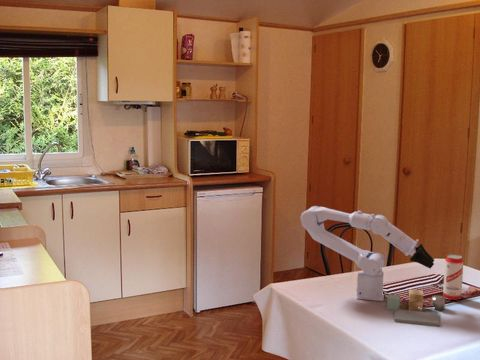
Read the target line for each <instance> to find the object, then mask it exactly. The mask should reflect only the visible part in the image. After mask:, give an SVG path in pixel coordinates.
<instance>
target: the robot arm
mask: <svg viewBox="0 0 480 360" xmlns="http://www.w3.org/2000/svg"><path fill="white" fill-rule="evenodd" d="M375 214H376V213H375ZM375 214H374V213H371V214H369V213H364V212H362V210H357V211H354V212H352V213H348V212H344V211H341V210H336V209H332V208H328V207H326V206H325V207H324V206H318V205H313V206H310V208H308V209H307V210H305V211H302V212H301V215H300V223H301V227H303V228H304V229H305V230H306V231H307V232H308V234H309V235H310V237H311V238H312V240H314V241H316V242H318V243H319V244H322V245H323V246H325V247H326V248H329V249H331V250H332V251H334V252H335V253H338V254H339V255H341V256H344V257H345V258H347V259H349V260H351V261H352V262H355V265H356V266H357V267H358V268H359V269H361V270H362V271H359V272H358V273H357V280H356V282H357V283H356V284H357V285H356V299H357V300H367V301H368V300H369V301H378V302H384V300H385V299H384V298H385V293H384V294H383V292H384V271H383V269H382V268H383V267H384V266H385V263H386V260H385V257H384V256H383V254H381V253H379V252H372V251H370V250H366V249H365V250H364V249H361V248H360V247H358V246H356V245H354V244H352V243H350V242H349V241H347V240H345V239H343V238H341V237H339V236H337V235H336V234H334V233H332V232H330V231H328V230H326V229H325V228H326V227H325V224H324V222H325V221H328V220H329V221H335V222H341V223H342V222H343V223H348V224H349V225H350V226H351V227H352V228H356V229H360V230H361V229H362V230H365V231H371V234H374V235H378V236H379V235H380V236H381V237H382V238H383V239H384V240H386V242H388V243H390V244H392V246H394V247H395V248H397V250H399V251H400V252H401V253H403V254H404V255H405V256H406V257H407V256H411V257H410V258H409V261H410V262H412V263H413V262H414V263H417V264H420V265H422V266H423V267H426V268H428V269H430V270H431V269H432V268H433V266H434V265H435V263H434V262H435V259H434V258H433V256H431V254H429V252H428V251H427V250H426V249H425V247H424V245H423V243H420V244H419V245H418V242H419V241H420V240H419V239H418V238H417V239H416V240H414V239H413V238H411V237H410V236H408V235H407V234H406V233H405V232H403V231H402V230H401V229H399V228H398V227H396V225H393V224H392V223H391V222H389V220H388V218H387V216H385V215H383V214H376V215H375Z"/></svg>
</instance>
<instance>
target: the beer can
mask: <svg viewBox="0 0 480 360" xmlns="http://www.w3.org/2000/svg"><path fill="white" fill-rule="evenodd" d="M443 273H444V274H443V286H442V287H443V291H442V296H443V297H444V298H448V299H454V300H455V299H459V300H461V299H462V289H463V273H464V259H463V256H462V255H459V254H456V253H454V254H453V253H451V254H450V253H448V254H447V255H446V258H445V259H444V272H443Z"/></svg>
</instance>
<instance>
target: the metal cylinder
mask: <svg viewBox="0 0 480 360" xmlns="http://www.w3.org/2000/svg"><path fill="white" fill-rule="evenodd" d="M430 304H431V305H432V306H434V307H435V309H434V310H433V311H436V312H443V311H445V309H446V307H445V306H446V299H445V297H444V296H443V295H437V294H436V295H432V296H431V303H430Z"/></svg>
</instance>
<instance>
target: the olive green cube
mask: <svg viewBox="0 0 480 360" xmlns="http://www.w3.org/2000/svg"><path fill="white" fill-rule="evenodd" d="M400 300H401V299H400V294H389V293H388V294H387V301H386V302H387V304H386V306H387V307H386V308H387V310H393V311H395V309H398V310H400Z"/></svg>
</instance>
